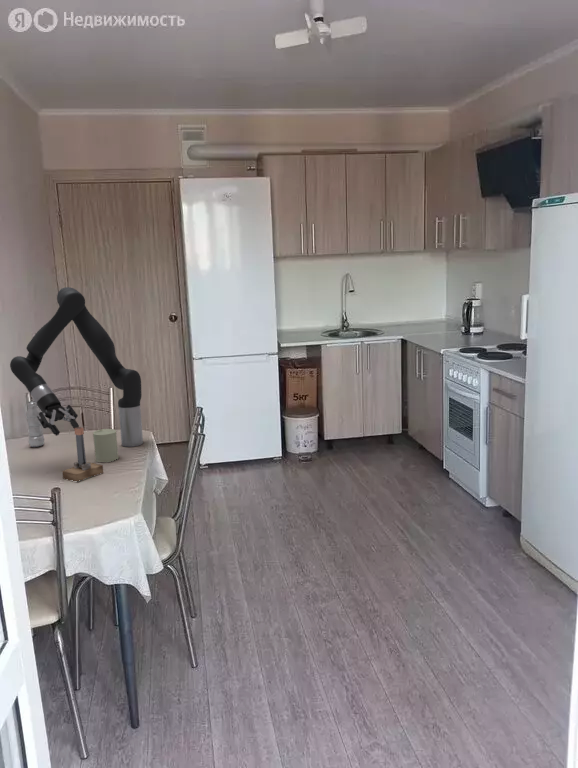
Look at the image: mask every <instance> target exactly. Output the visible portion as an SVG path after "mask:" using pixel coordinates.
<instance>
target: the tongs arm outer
mask: <svg viewBox="0 0 578 768" xmlns="http://www.w3.org/2000/svg"><path fill="white" fill-rule="evenodd" d="M73 429H74V435H75V442H76V454H77V456H76V457H77V462H78V467H80V468H82V465H83V464H84V461H83V448H82V433H81V428H73Z"/></svg>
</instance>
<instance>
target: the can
mask: <svg viewBox="0 0 578 768" xmlns="http://www.w3.org/2000/svg"><path fill="white" fill-rule="evenodd" d="M92 437H93V446H94V457H95V459H94V462H96V463H100V462H106V463H111V461H112V462H115V461H117V460H118V459H119V458H120V457H119V451H118V440H117V437H118V436H117V430H116V429H114V428H102V429H98V430H94V431H93V432H92ZM116 459H117V460H116ZM114 460H115V461H114Z"/></svg>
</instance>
